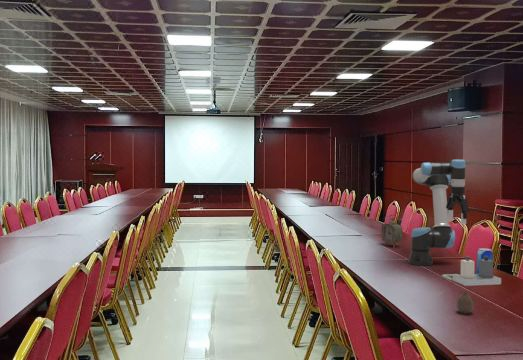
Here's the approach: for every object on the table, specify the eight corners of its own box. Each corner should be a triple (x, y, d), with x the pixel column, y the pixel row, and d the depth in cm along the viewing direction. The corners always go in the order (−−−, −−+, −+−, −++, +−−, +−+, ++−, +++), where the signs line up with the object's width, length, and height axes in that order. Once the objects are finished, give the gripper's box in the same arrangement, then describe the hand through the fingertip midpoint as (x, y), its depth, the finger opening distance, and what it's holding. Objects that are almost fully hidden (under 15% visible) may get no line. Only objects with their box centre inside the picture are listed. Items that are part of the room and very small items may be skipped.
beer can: (483, 278, 279) (483, 250, 279) (473, 275, 288) (473, 248, 287) (495, 277, 282) (496, 250, 281) (485, 274, 290) (485, 247, 289)
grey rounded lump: (468, 310, 221) (469, 290, 220) (476, 314, 214) (476, 294, 214) (453, 310, 221) (454, 290, 220) (460, 314, 214) (460, 295, 213)
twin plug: (478, 281, 271) (479, 255, 270) (487, 280, 272) (487, 254, 271) (484, 283, 266) (484, 256, 265) (492, 282, 267) (493, 256, 266)
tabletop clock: (381, 245, 389) (382, 214, 388) (390, 244, 393) (391, 213, 392) (393, 248, 376) (394, 215, 375) (403, 247, 380) (403, 215, 379)
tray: (442, 277, 282) (442, 274, 282) (456, 277, 284) (456, 273, 283) (450, 281, 273) (450, 278, 273) (466, 280, 274) (466, 277, 274)
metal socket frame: (452, 281, 272) (452, 274, 272) (487, 280, 276) (487, 273, 275) (465, 287, 260) (465, 279, 260) (501, 285, 264) (501, 278, 264)
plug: (468, 281, 270) (469, 255, 269) (474, 283, 265) (474, 257, 264) (460, 281, 269) (460, 255, 269) (465, 283, 264) (466, 257, 264)
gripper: (440, 184, 295) (439, 219, 297) (464, 188, 271) (463, 226, 272) (451, 184, 297) (451, 219, 298) (476, 187, 272) (475, 225, 273)
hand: (456, 222), depth 285 cm, fingers open, 13 cm apart
